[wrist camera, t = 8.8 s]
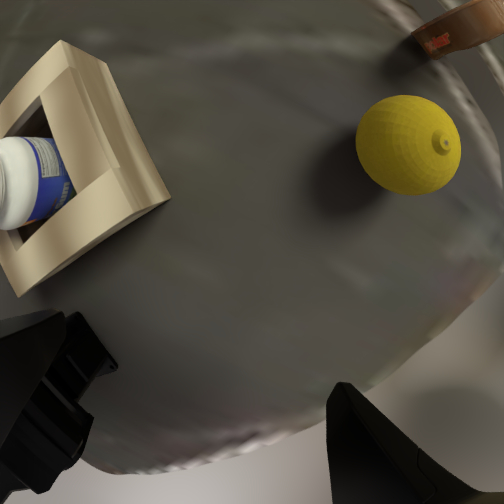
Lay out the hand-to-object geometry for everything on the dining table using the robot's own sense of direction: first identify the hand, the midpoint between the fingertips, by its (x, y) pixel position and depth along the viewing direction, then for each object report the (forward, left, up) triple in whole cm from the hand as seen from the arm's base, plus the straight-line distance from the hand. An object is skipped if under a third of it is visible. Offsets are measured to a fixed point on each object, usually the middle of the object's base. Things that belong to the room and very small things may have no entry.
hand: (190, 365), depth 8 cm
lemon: (+12, +2, -12) cm, 17 cm away
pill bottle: (-8, +11, -12) cm, 18 cm away
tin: (+25, +9, -12) cm, 29 cm away
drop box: (-8, +11, -12) cm, 18 cm away
